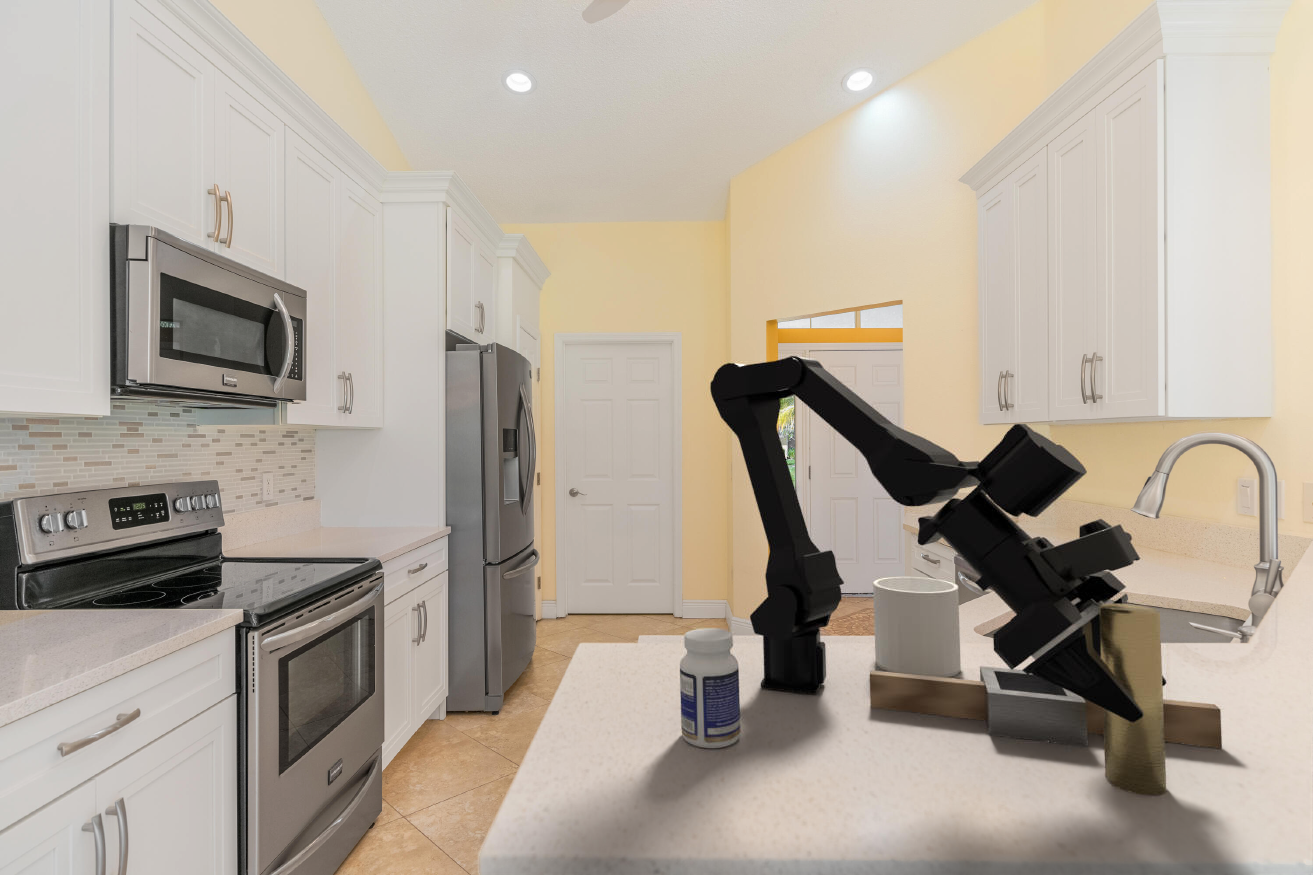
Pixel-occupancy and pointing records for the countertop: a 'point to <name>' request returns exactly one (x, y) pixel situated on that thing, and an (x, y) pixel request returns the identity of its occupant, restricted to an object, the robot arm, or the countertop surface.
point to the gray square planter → (1032, 708)
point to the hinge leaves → (969, 702)
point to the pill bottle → (709, 689)
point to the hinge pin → (1139, 669)
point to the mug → (917, 626)
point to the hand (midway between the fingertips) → (1151, 701)
